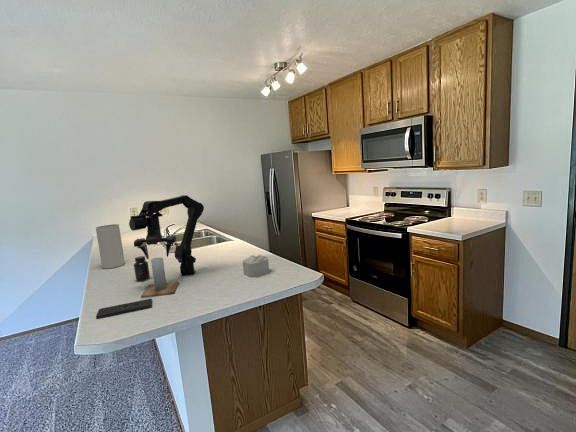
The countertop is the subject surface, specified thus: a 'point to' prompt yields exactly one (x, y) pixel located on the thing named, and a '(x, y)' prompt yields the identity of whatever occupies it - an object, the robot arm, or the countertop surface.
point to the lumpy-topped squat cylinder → (255, 266)
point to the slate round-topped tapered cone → (158, 273)
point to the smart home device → (124, 308)
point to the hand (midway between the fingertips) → (157, 257)
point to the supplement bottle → (141, 269)
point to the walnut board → (152, 292)
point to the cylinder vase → (110, 246)
